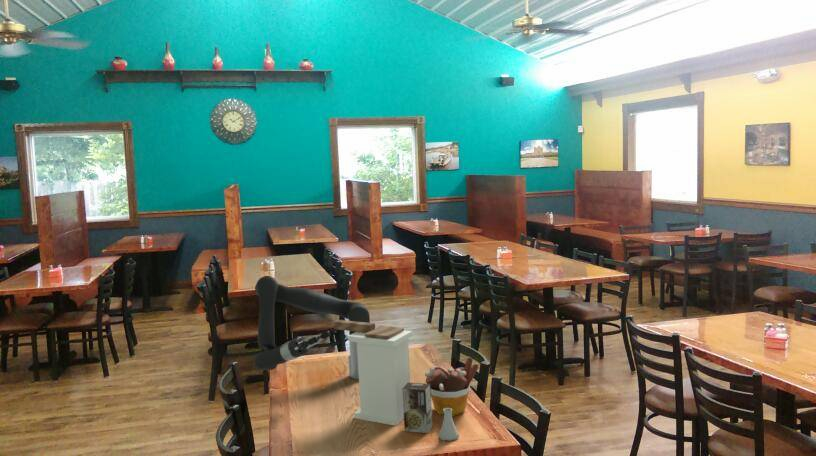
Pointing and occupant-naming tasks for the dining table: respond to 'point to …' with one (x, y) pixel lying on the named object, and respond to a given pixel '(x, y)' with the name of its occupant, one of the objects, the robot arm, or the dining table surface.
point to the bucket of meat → (450, 387)
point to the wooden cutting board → (368, 328)
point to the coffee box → (417, 407)
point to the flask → (448, 427)
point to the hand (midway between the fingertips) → (323, 336)
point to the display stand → (382, 376)
